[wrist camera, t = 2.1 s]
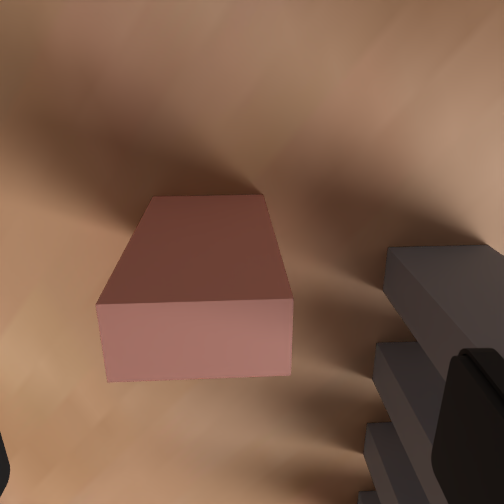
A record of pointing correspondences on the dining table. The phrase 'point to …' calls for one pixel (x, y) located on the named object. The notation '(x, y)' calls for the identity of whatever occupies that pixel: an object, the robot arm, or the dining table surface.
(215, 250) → the domino
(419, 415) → the domino
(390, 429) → the domino
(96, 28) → the dining table surface
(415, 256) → the domino
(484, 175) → the dining table surface
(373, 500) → the domino
